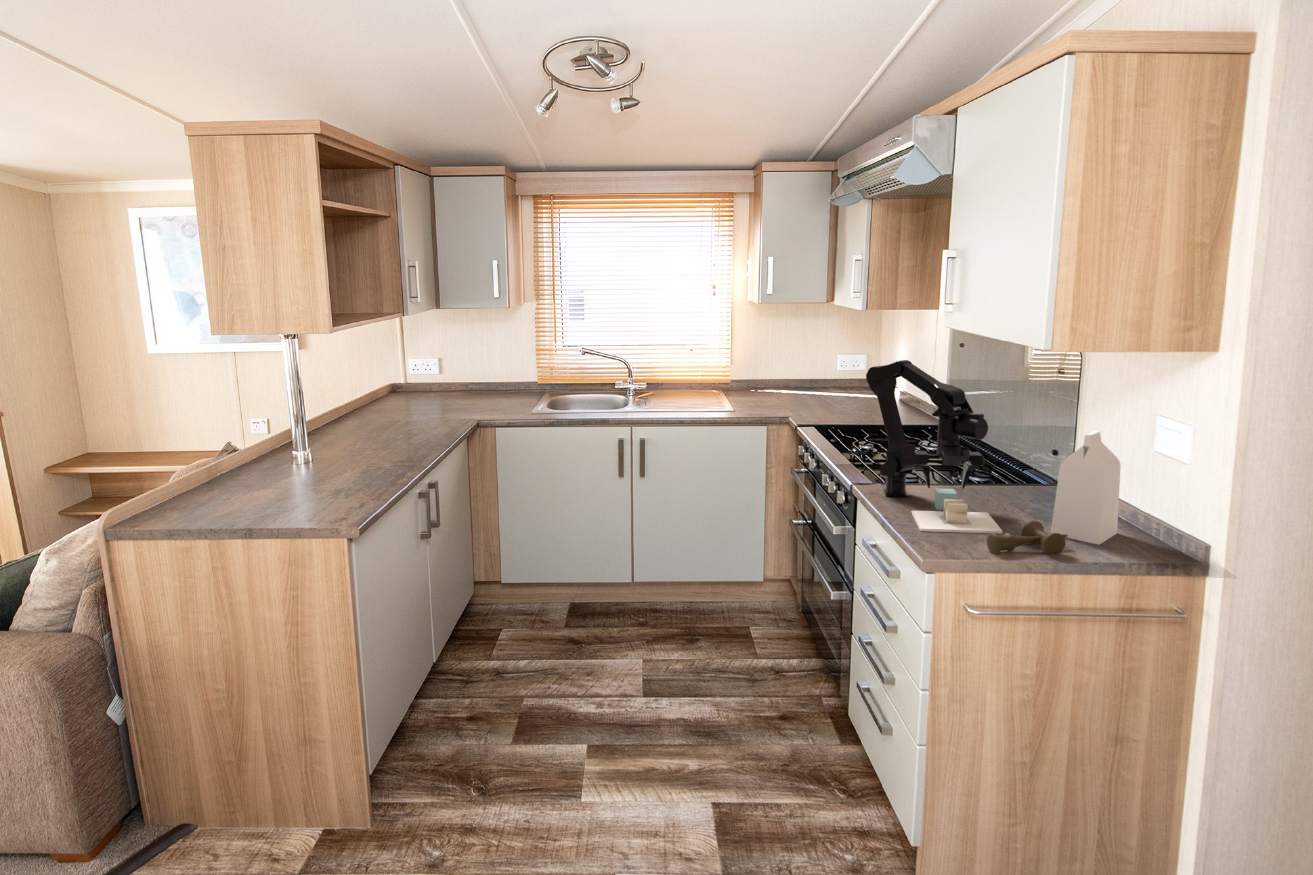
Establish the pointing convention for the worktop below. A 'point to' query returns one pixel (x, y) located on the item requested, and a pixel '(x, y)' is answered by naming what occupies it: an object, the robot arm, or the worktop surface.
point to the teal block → (943, 497)
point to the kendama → (1027, 539)
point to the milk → (1088, 493)
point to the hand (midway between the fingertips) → (945, 488)
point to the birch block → (955, 510)
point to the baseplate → (937, 523)
